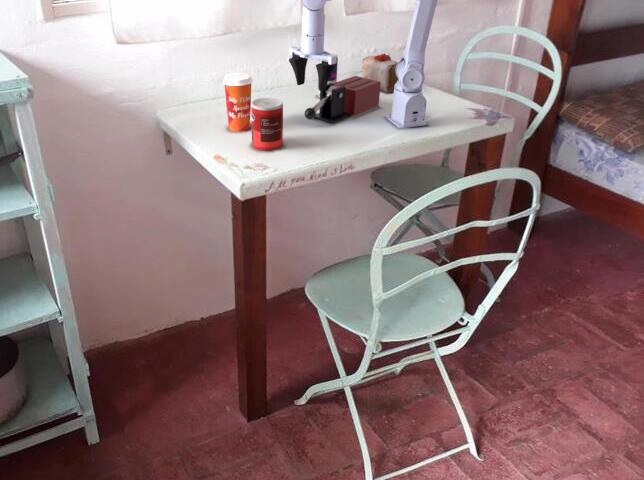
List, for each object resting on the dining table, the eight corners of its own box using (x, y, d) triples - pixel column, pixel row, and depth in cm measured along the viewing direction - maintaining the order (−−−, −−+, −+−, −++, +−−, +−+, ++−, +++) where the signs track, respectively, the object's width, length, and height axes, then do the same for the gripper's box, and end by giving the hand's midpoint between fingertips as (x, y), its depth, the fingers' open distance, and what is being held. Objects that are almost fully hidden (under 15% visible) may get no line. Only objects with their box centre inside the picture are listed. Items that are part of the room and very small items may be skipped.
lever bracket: (331, 124, 178) (333, 92, 174) (312, 118, 183) (313, 87, 178) (350, 117, 183) (352, 85, 178) (331, 111, 187) (332, 80, 182)
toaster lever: (312, 122, 176) (309, 113, 173) (303, 120, 178) (301, 111, 175) (341, 95, 180) (339, 86, 177) (332, 93, 181) (330, 84, 179)
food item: (356, 83, 208) (358, 51, 203) (376, 79, 211) (379, 47, 206) (385, 94, 198) (388, 61, 193) (405, 89, 201) (409, 56, 196)
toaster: (354, 118, 182) (355, 90, 178) (328, 110, 188) (329, 83, 184) (379, 108, 188) (381, 81, 184) (353, 101, 194) (355, 74, 190)
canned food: (264, 137, 172) (263, 95, 166) (289, 143, 168) (289, 101, 162) (245, 146, 167) (244, 103, 161) (271, 153, 163) (270, 109, 157)
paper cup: (229, 135, 175) (227, 81, 167) (221, 125, 181) (219, 73, 173) (257, 131, 176) (256, 78, 169) (249, 121, 182) (248, 70, 175)
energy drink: (336, 99, 196) (338, 58, 190) (318, 99, 196) (320, 58, 190) (334, 93, 201) (336, 53, 194) (317, 94, 201) (318, 53, 194)
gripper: (281, 32, 171) (281, 85, 179) (324, 41, 162) (322, 96, 169) (299, 27, 175) (298, 79, 182) (342, 35, 166) (340, 89, 173)
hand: (311, 87), depth 176 cm, fingers open, 7 cm apart
